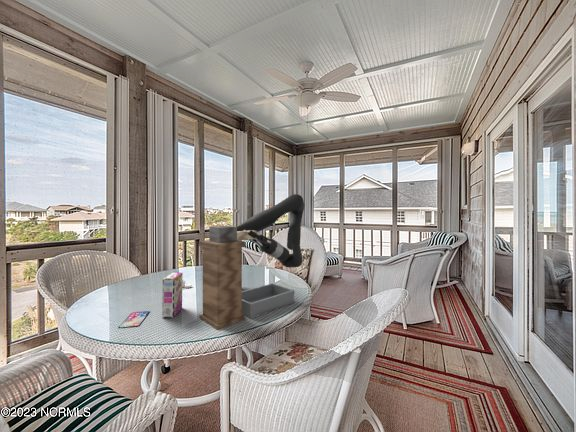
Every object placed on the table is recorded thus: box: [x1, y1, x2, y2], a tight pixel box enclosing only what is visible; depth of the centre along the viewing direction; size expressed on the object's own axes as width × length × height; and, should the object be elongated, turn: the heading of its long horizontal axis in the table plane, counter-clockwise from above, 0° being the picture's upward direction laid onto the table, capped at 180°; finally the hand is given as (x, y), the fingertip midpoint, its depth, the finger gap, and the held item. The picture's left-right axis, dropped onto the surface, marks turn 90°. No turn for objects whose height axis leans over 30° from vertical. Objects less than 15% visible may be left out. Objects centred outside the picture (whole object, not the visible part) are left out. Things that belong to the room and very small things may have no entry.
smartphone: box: [118, 310, 151, 329], centre depth 107 cm, size 8×1×15 cm
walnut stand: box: [198, 239, 246, 330], centre depth 107 cm, size 13×14×32 cm
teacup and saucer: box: [182, 279, 193, 290], centre depth 149 cm, size 9×8×4 cm
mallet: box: [208, 225, 258, 243], centre depth 111 cm, size 20×8×6 cm, turn 135°
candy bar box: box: [161, 272, 183, 319], centre depth 113 cm, size 11×5×16 cm, turn 5°
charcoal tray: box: [242, 283, 295, 319], centre depth 123 cm, size 26×16×6 cm, turn 135°
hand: (246, 231), depth 115 cm, fingers closed on mallet, 3 cm apart
